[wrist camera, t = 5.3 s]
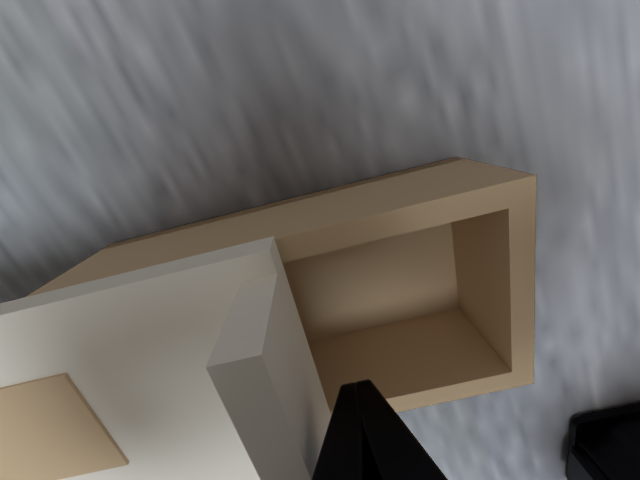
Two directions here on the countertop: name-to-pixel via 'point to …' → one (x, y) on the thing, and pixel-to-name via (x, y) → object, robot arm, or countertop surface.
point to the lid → (162, 375)
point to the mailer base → (389, 277)
